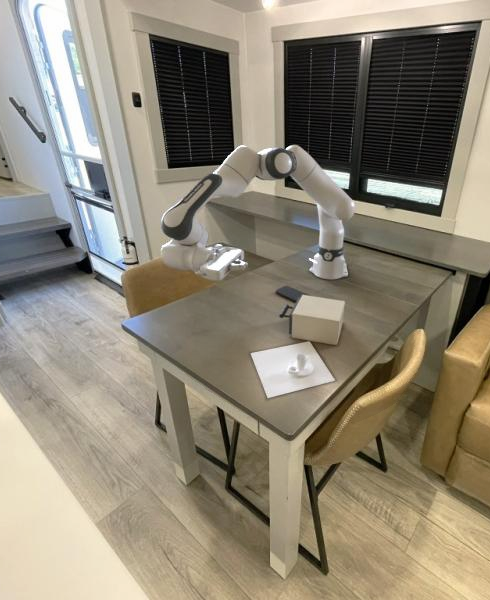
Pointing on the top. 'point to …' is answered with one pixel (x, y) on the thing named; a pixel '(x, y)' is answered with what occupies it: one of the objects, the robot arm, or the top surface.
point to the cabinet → (318, 319)
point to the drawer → (289, 314)
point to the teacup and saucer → (290, 368)
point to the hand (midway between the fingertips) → (246, 266)
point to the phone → (290, 293)
